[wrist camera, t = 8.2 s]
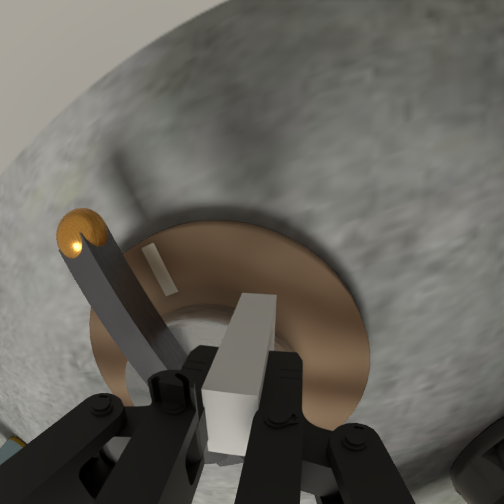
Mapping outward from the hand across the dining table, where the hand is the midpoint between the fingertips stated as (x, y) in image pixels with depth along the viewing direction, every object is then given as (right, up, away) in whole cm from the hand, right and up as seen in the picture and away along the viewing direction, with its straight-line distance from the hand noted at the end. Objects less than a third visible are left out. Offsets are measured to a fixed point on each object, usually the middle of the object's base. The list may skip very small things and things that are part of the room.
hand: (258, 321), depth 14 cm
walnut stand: (-2, -5, +10) cm, 12 cm away
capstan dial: (-5, -2, +7) cm, 9 cm away
